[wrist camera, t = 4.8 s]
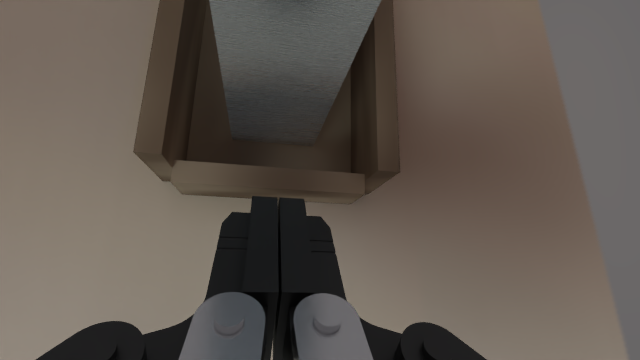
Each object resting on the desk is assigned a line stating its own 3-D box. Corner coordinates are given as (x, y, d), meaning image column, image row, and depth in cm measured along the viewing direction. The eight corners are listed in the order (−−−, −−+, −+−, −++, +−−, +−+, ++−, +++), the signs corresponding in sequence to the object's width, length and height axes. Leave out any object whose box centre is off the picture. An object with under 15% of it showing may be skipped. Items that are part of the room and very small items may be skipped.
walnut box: (162, 194, 14) (130, 167, 10) (200, -65, 17) (186, -152, 14) (366, 206, 15) (400, 185, 12) (362, -35, 19) (387, -107, 15)
